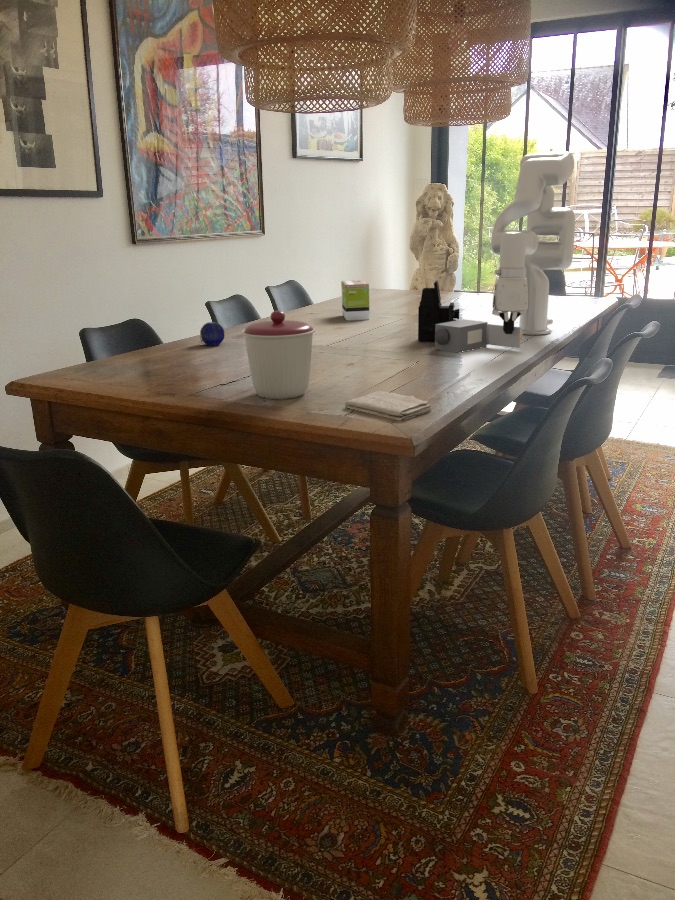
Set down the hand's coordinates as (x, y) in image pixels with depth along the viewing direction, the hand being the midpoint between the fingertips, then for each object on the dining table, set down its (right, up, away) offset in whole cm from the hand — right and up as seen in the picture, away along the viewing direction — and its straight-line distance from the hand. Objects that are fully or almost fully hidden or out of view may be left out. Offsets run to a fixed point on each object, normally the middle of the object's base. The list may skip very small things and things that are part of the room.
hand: (508, 333), depth 234 cm
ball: (-97, 0, +24) cm, 100 cm away
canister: (-68, -23, -45) cm, 85 cm away
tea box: (-46, +19, +78) cm, 93 cm away
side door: (0, -3, +5) cm, 6 cm away
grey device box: (-13, -3, +9) cm, 17 cm away
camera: (-19, +1, +22) cm, 29 cm away
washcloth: (-42, -28, -61) cm, 79 cm away
